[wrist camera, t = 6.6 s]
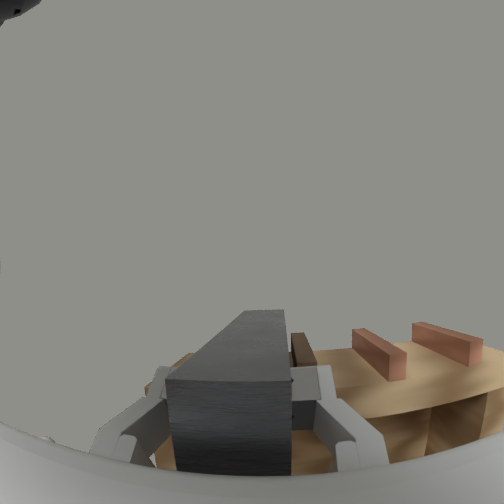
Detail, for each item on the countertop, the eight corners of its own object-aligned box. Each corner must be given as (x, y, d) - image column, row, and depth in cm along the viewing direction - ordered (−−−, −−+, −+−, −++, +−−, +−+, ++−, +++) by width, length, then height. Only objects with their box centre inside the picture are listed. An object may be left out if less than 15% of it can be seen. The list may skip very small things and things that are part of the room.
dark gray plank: (291, 482, 7) (291, 380, 7) (177, 476, 7) (164, 378, 8) (284, 347, 26) (283, 309, 26) (245, 348, 26) (244, 310, 26)
